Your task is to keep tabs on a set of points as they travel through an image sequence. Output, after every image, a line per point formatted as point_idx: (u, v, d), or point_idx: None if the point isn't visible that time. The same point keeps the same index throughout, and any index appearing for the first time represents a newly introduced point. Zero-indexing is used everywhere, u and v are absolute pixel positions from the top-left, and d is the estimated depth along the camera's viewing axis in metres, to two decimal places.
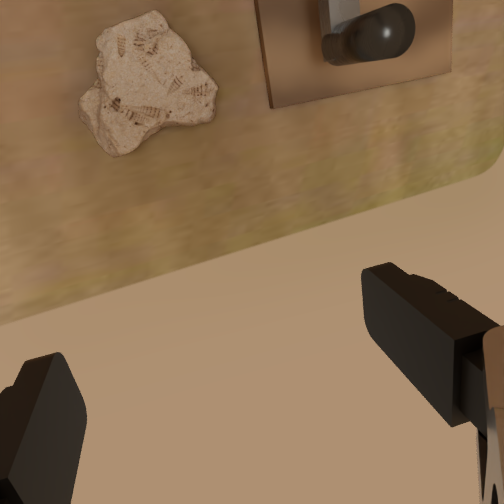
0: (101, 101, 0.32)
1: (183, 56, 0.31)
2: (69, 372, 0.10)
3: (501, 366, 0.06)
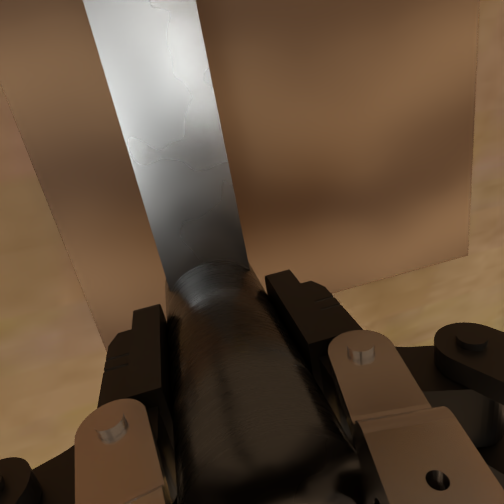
0: None
1: None
2: (166, 323, 0.11)
3: (349, 375, 0.07)
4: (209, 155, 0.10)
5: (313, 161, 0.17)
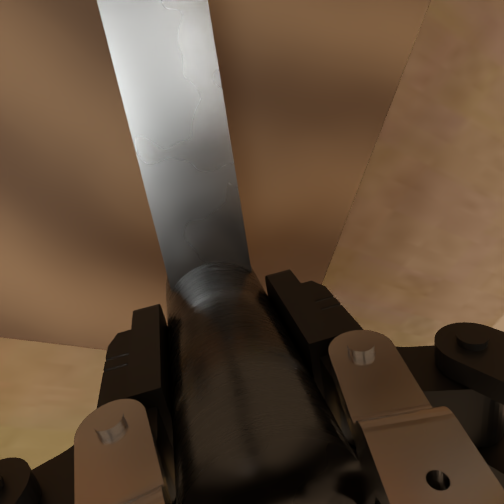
0: None
1: None
2: (166, 323, 0.11)
3: (350, 375, 0.07)
4: (215, 156, 0.10)
5: None
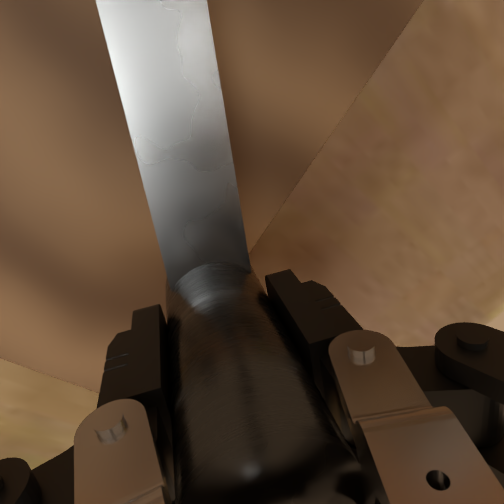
0: None
1: None
2: (166, 323, 0.11)
3: (350, 374, 0.07)
4: (215, 156, 0.10)
5: (47, 219, 0.15)
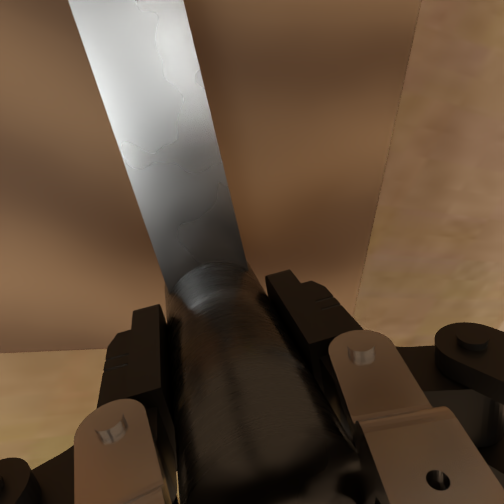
0: None
1: None
2: (166, 323, 0.11)
3: (350, 375, 0.07)
4: (203, 157, 0.10)
5: None
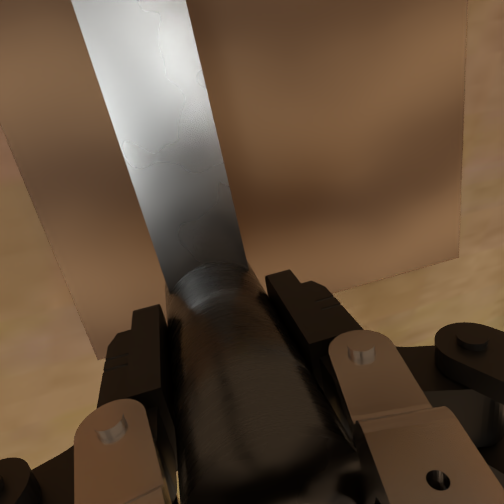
0: None
1: None
2: (166, 323, 0.11)
3: (350, 375, 0.07)
4: (204, 157, 0.10)
5: (302, 164, 0.17)
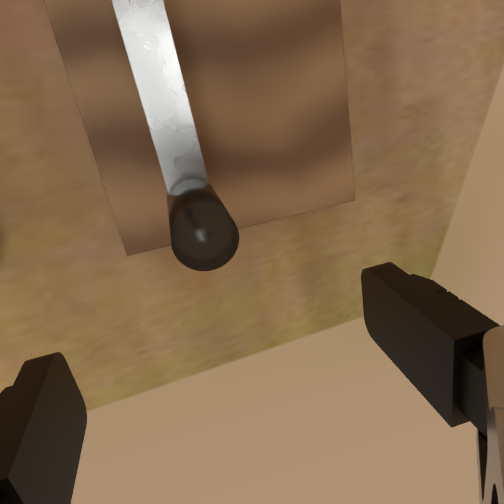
0: None
1: None
2: (69, 372, 0.10)
3: (501, 366, 0.06)
4: (185, 124, 0.22)
5: (249, 137, 0.28)
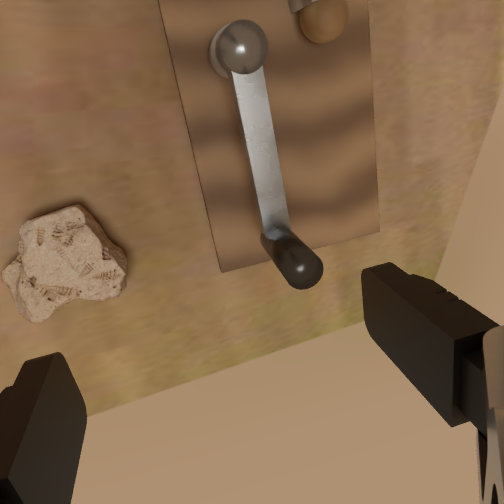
0: (20, 276, 0.36)
1: (95, 248, 0.35)
2: (69, 372, 0.10)
3: (501, 366, 0.06)
4: (279, 193, 0.35)
5: (308, 191, 0.41)
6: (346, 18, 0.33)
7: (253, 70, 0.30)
